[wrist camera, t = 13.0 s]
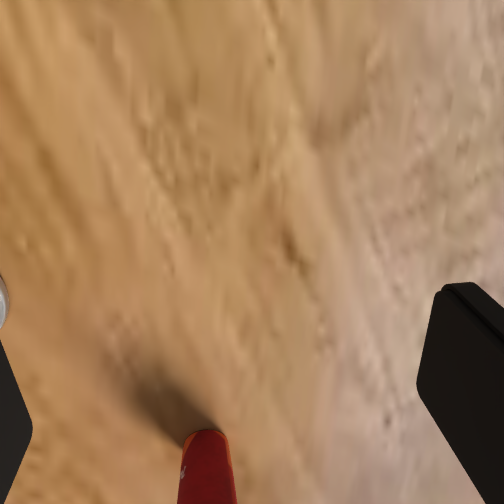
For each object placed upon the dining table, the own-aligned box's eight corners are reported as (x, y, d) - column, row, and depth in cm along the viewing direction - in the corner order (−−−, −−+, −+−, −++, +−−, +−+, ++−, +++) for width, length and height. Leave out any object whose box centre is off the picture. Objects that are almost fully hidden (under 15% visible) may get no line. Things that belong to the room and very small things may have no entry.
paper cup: (162, 443, 51) (150, 573, 38) (212, 413, 49) (217, 539, 37) (200, 473, 54) (200, 602, 42) (248, 447, 53) (264, 571, 40)
